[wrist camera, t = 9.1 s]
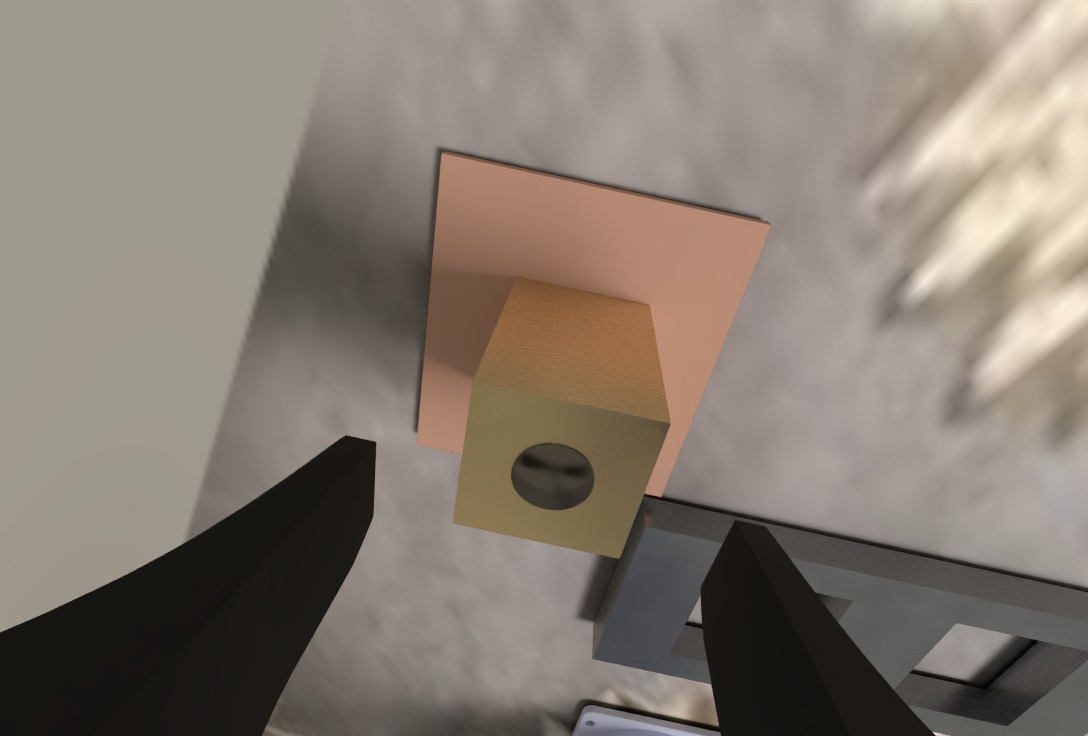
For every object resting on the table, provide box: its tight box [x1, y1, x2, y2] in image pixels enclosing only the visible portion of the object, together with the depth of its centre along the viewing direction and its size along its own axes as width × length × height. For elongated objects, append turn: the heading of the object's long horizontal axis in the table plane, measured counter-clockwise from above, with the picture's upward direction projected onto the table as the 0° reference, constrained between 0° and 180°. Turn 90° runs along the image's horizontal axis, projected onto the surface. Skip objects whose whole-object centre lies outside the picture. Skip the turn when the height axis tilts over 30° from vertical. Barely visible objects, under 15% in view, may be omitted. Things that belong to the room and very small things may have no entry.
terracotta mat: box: [417, 151, 772, 497], centre depth 17 cm, size 10×9×1 cm
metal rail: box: [592, 497, 1088, 736], centre depth 21 cm, size 8×20×2 cm, turn 78°
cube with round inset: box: [453, 276, 671, 559], centre depth 14 cm, size 4×4×6 cm
